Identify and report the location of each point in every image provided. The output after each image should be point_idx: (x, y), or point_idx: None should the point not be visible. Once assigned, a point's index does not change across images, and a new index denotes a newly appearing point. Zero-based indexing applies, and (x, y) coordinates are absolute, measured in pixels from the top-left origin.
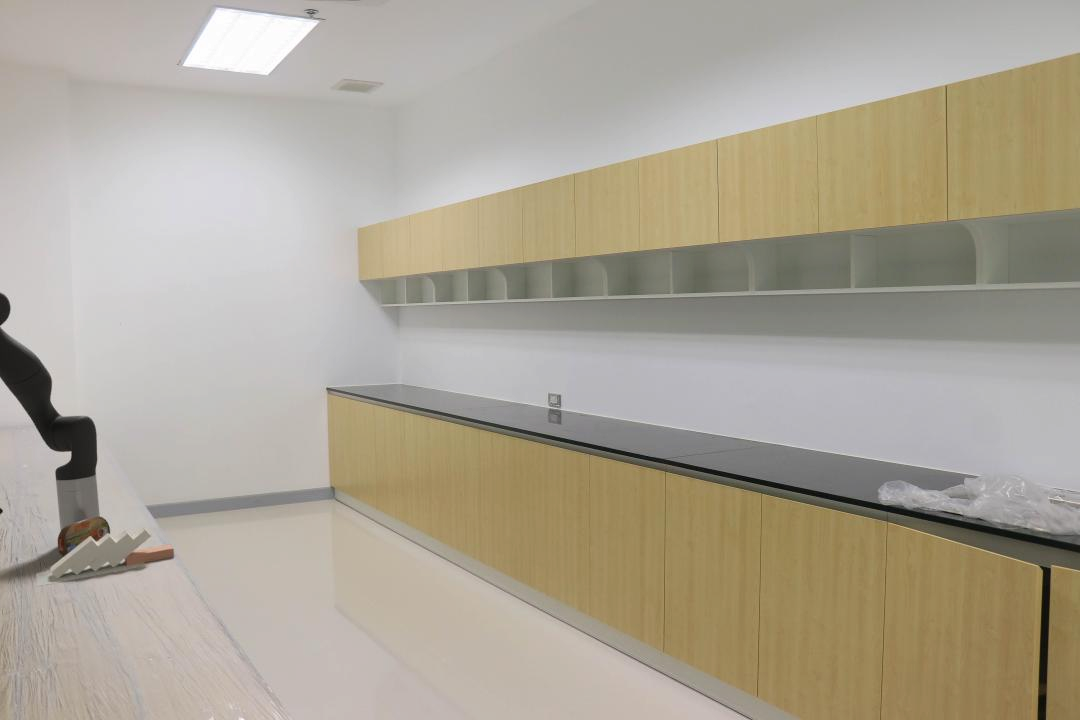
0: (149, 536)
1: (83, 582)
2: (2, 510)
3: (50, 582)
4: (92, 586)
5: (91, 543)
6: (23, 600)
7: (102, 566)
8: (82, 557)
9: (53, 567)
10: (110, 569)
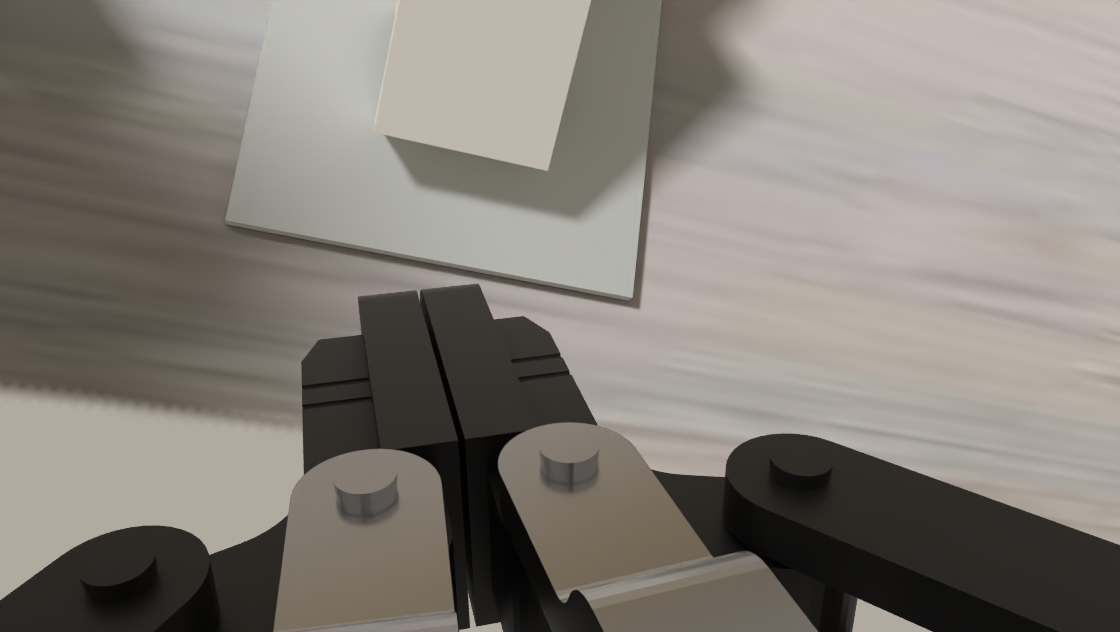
0: None
1: (725, 73)
2: (477, 289)
3: (604, 214)
4: (857, 70)
5: None
6: (853, 420)
7: None
8: None
9: (461, 128)
10: None
